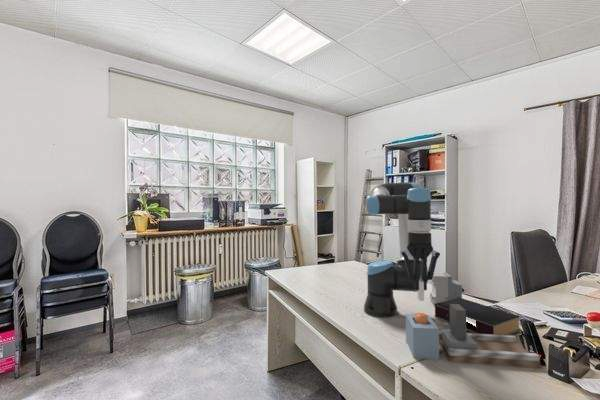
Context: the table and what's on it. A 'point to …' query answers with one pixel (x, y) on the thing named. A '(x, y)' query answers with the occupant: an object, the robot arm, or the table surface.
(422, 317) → the button
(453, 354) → the rail board
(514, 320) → the book
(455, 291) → the circuit breaker
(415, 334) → the end cabinet
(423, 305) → the table surface
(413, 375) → the table surface
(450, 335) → the carriage
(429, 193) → the robot arm
